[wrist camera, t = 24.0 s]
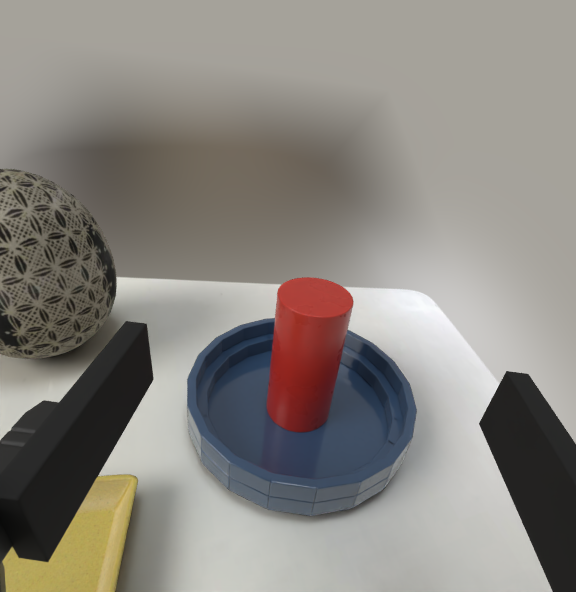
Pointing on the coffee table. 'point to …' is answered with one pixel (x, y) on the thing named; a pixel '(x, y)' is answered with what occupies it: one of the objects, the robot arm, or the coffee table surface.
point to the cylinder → (306, 351)
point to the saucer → (82, 545)
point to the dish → (298, 445)
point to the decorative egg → (49, 269)
